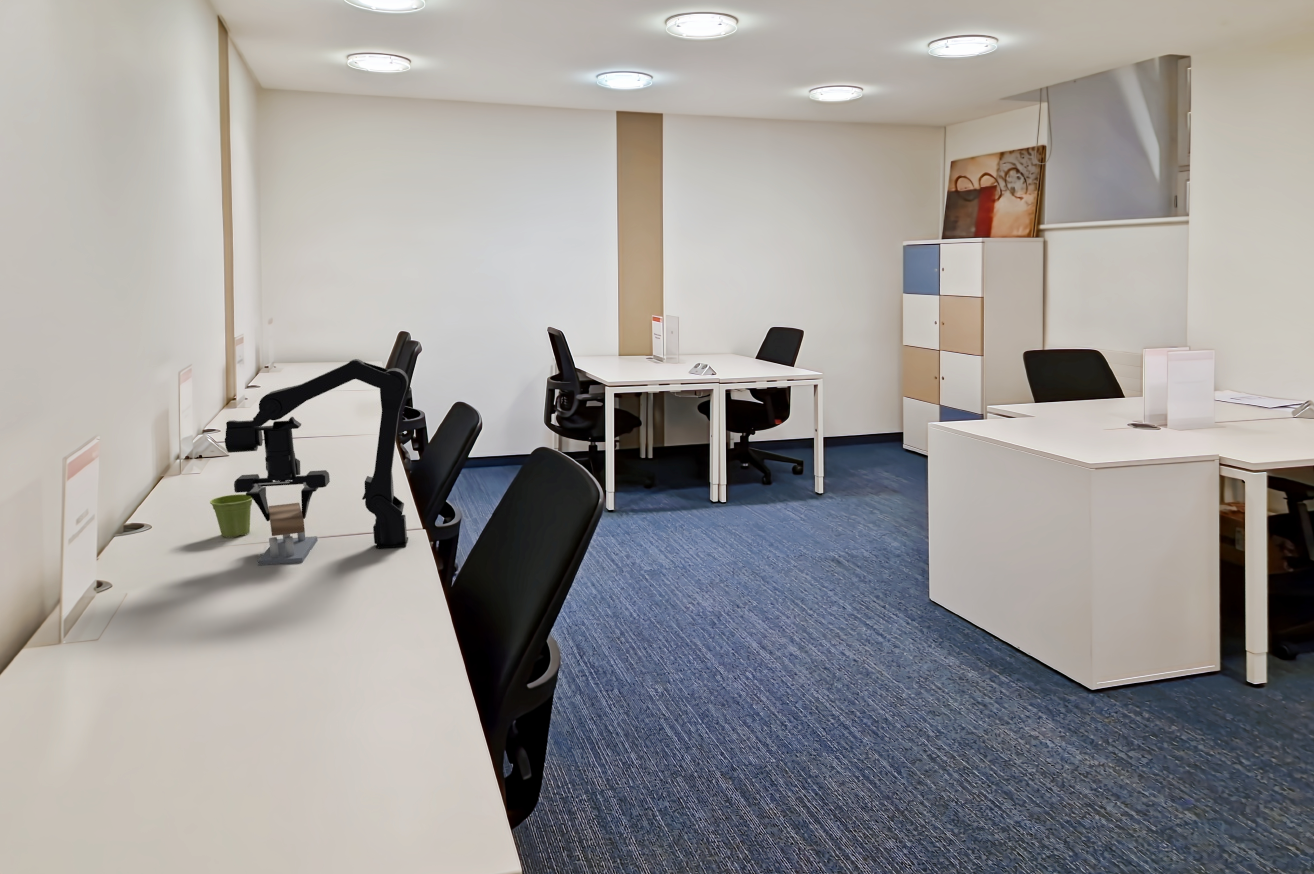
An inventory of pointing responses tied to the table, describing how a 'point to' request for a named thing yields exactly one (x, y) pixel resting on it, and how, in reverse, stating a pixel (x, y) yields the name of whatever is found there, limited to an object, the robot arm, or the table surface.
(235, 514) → the plant pot
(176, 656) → the table surface
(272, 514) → the shelf board
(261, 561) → the peg stand
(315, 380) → the robot arm
